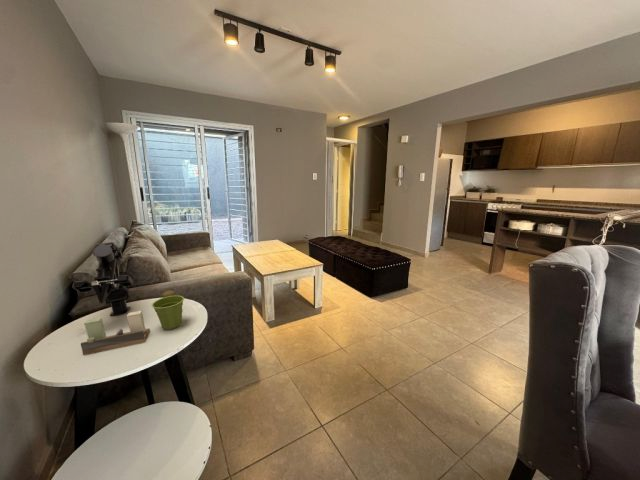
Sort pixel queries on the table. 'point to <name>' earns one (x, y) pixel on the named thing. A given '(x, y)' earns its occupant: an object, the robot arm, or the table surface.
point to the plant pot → (169, 311)
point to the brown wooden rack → (114, 341)
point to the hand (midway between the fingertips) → (101, 302)
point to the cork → (168, 293)
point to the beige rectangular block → (136, 321)
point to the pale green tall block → (95, 328)
